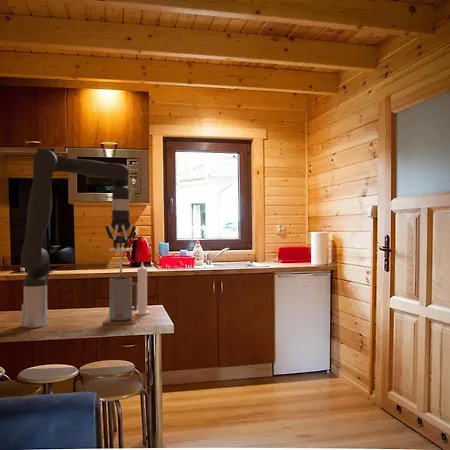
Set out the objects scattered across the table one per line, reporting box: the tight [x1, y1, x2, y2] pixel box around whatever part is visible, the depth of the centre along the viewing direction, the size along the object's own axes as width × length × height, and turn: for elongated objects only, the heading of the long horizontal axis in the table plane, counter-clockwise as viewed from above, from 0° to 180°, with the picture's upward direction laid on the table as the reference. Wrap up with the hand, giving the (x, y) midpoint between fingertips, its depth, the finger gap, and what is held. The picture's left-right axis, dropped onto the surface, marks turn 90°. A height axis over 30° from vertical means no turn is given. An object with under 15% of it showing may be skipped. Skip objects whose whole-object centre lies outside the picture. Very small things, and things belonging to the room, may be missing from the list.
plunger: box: [108, 235, 133, 279], centre depth 194 cm, size 10×10×24 cm
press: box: [102, 276, 139, 326], centre depth 194 cm, size 14×13×19 cm
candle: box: [134, 261, 151, 316], centre depth 212 cm, size 7×7×25 cm
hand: (120, 248), depth 194 cm, fingers closed on plunger, 3 cm apart
